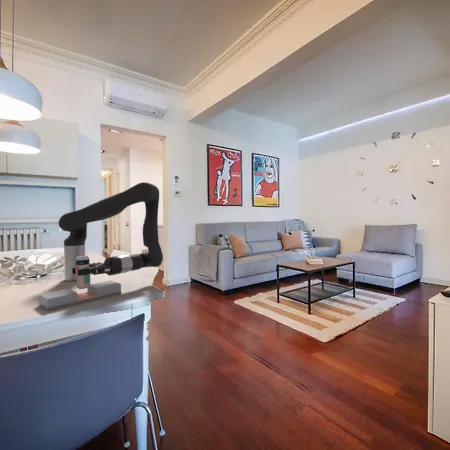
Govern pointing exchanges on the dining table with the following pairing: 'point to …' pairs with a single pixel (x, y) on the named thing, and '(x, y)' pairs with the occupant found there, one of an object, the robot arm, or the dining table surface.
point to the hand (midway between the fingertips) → (75, 272)
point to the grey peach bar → (78, 295)
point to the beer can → (83, 280)
